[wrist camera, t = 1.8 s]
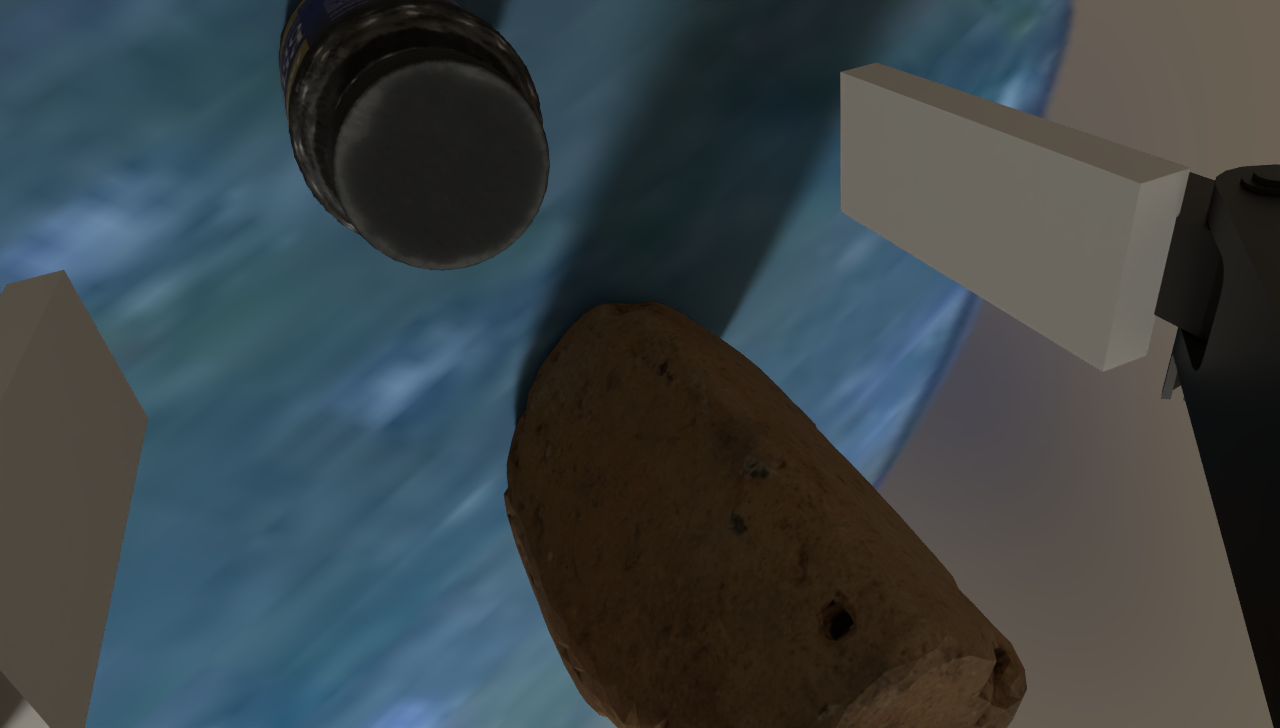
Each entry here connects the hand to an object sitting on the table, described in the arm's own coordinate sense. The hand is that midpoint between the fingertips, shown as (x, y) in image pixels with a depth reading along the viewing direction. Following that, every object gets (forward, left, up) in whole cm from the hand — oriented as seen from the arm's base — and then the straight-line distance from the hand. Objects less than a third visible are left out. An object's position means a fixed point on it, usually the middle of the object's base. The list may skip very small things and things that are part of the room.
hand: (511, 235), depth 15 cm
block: (-7, -14, -16) cm, 22 cm away
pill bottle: (0, 0, -16) cm, 16 cm away
